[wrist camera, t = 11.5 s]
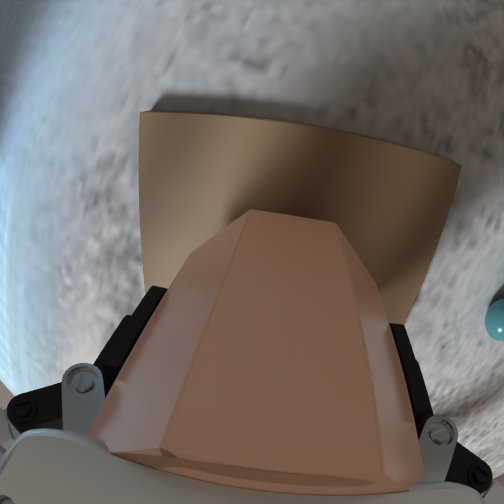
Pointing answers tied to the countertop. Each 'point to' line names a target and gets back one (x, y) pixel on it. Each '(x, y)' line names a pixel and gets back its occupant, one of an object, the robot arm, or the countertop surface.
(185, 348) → the salmon tapered prism
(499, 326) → the marbles
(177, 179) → the brown curved panel
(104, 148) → the countertop surface
